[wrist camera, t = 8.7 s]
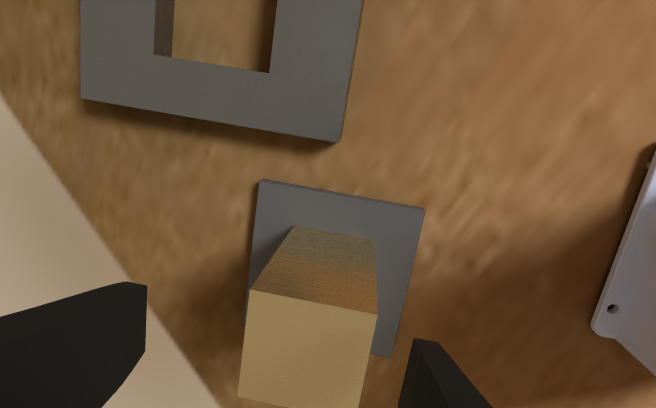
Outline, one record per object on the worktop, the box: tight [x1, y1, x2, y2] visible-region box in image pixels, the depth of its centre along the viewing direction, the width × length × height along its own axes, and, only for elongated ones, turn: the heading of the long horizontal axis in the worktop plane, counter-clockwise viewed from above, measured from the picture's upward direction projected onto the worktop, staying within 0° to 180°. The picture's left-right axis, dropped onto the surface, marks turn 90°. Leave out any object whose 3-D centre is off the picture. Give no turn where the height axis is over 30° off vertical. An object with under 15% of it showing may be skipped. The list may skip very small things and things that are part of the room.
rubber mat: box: [242, 179, 425, 358], centre depth 19 cm, size 8×8×1 cm
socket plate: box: [80, 0, 364, 143], centre depth 16 cm, size 10×12×2 cm
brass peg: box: [237, 225, 378, 408], centre depth 15 cm, size 4×4×7 cm
